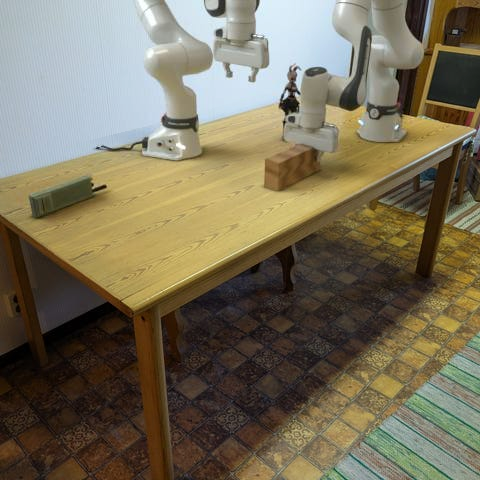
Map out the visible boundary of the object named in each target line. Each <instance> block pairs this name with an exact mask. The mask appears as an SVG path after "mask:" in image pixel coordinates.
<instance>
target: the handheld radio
mask: <svg viewBox="0 0 480 480" xmlns="http://www.w3.org/2000/svg"><path fill="white" fill-rule="evenodd" d="M92 176H93V174H91V173H88V174H85V175H83V176H79V177H76V178H74V179H71V180H68V181H65V182H62V183H59V184H57V185H54V186H50V187H47V188H44V189H42V190H39V191H37V192H33V193H30V194H28V200H29V206H30V210H31V216H32V217H34V218H35V219H36V218H39V217H42V216H45V215H47V214H50V213H53V212H56V211H58V210H60V209H63V208H66V207H68V206H72V205H73V204H76V203H80V202H82V201H84V200H87V199H90V198H93V196H95V195H96V194H95V193H97V192H100V191H102V190H106V189H107V188H108V186H107V184H102V185H99V186H96V187H94V186H95V183H94V182H92V181H93V180H94V178H93V177H92ZM93 187H94V188H93Z"/></svg>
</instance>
